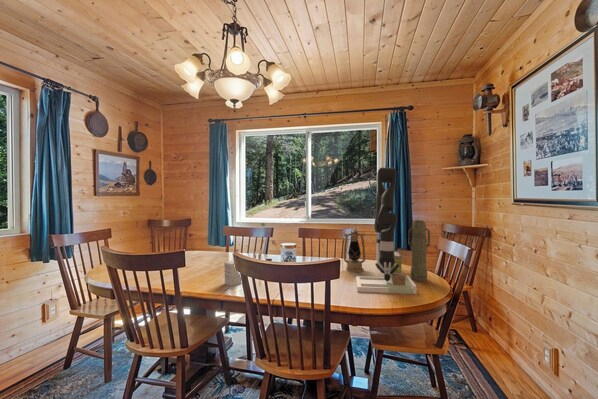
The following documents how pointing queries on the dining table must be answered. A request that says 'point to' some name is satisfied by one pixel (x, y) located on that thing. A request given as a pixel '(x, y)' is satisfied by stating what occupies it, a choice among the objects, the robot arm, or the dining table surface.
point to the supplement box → (231, 274)
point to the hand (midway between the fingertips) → (387, 280)
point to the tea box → (398, 260)
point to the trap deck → (384, 285)
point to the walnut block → (398, 278)
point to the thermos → (419, 250)
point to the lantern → (354, 252)
